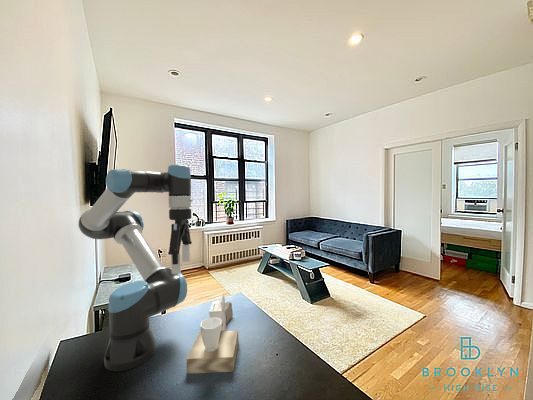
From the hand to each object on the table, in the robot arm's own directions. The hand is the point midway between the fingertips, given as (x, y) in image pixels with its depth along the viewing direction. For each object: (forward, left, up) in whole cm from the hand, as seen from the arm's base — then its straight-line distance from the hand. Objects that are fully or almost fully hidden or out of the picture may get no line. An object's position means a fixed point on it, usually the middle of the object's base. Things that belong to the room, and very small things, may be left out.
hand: (181, 267), depth 83 cm
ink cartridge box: (+12, +3, -28) cm, 31 cm away
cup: (+12, -9, -24) cm, 28 cm away
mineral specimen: (+12, +13, -28) cm, 33 cm away
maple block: (+12, -9, -29) cm, 32 cm away
